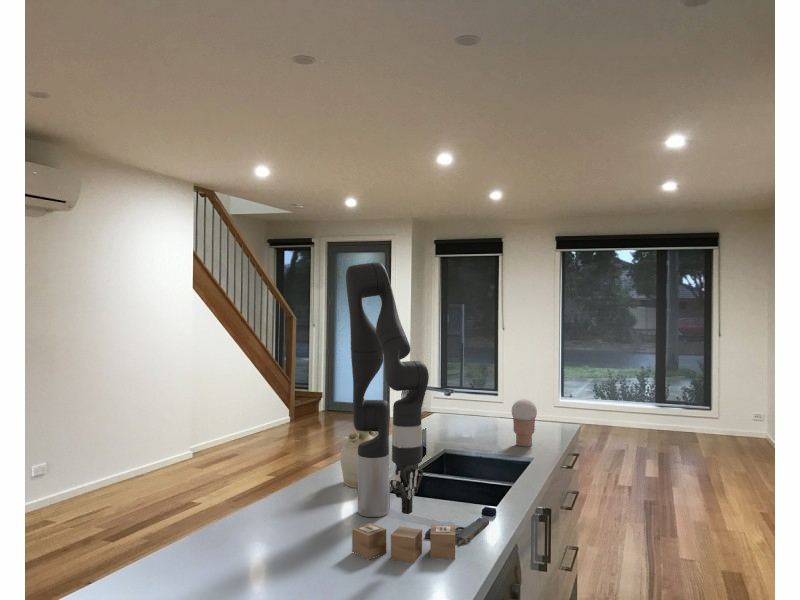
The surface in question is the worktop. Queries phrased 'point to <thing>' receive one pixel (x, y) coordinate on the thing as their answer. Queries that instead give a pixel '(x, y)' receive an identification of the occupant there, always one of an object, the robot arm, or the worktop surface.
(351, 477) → the jug
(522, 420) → the ice cream cone
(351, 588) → the worktop surface
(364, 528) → the labelled block
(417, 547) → the plain block
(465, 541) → the pistol
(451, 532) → the labelled block
